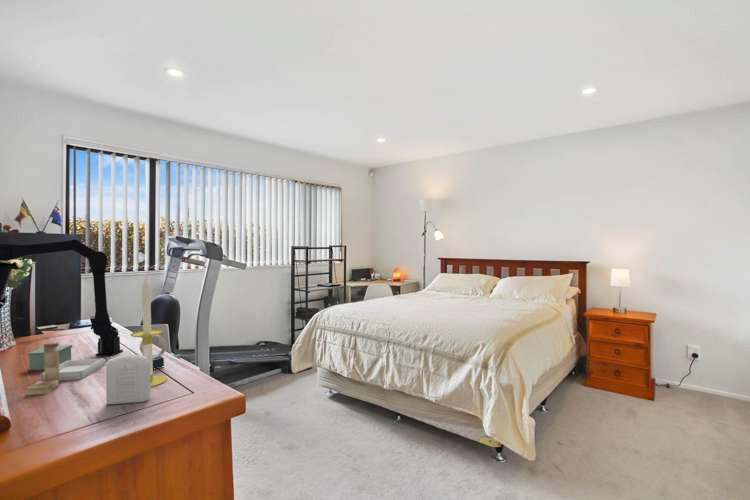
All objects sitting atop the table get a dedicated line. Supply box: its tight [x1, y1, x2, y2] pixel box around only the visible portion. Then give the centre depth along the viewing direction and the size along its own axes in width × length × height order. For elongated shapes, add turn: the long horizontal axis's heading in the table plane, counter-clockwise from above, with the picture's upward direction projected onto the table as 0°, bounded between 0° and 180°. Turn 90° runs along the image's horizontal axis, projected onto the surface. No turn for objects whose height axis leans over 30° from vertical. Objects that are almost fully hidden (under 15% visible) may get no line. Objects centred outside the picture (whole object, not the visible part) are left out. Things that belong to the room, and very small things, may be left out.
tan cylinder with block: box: [25, 341, 60, 396], centre depth 109 cm, size 8×5×13 cm, turn 11°
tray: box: [40, 357, 105, 382], centre depth 122 cm, size 13×11×2 cm
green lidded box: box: [27, 344, 73, 371], centre depth 130 cm, size 9×9×7 cm
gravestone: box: [105, 354, 151, 405], centre depth 100 cm, size 10×4×12 cm, turn 103°
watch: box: [139, 334, 168, 370], centre depth 127 cm, size 6×8×11 cm
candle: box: [130, 277, 168, 388], centre depth 113 cm, size 10×10×32 cm
